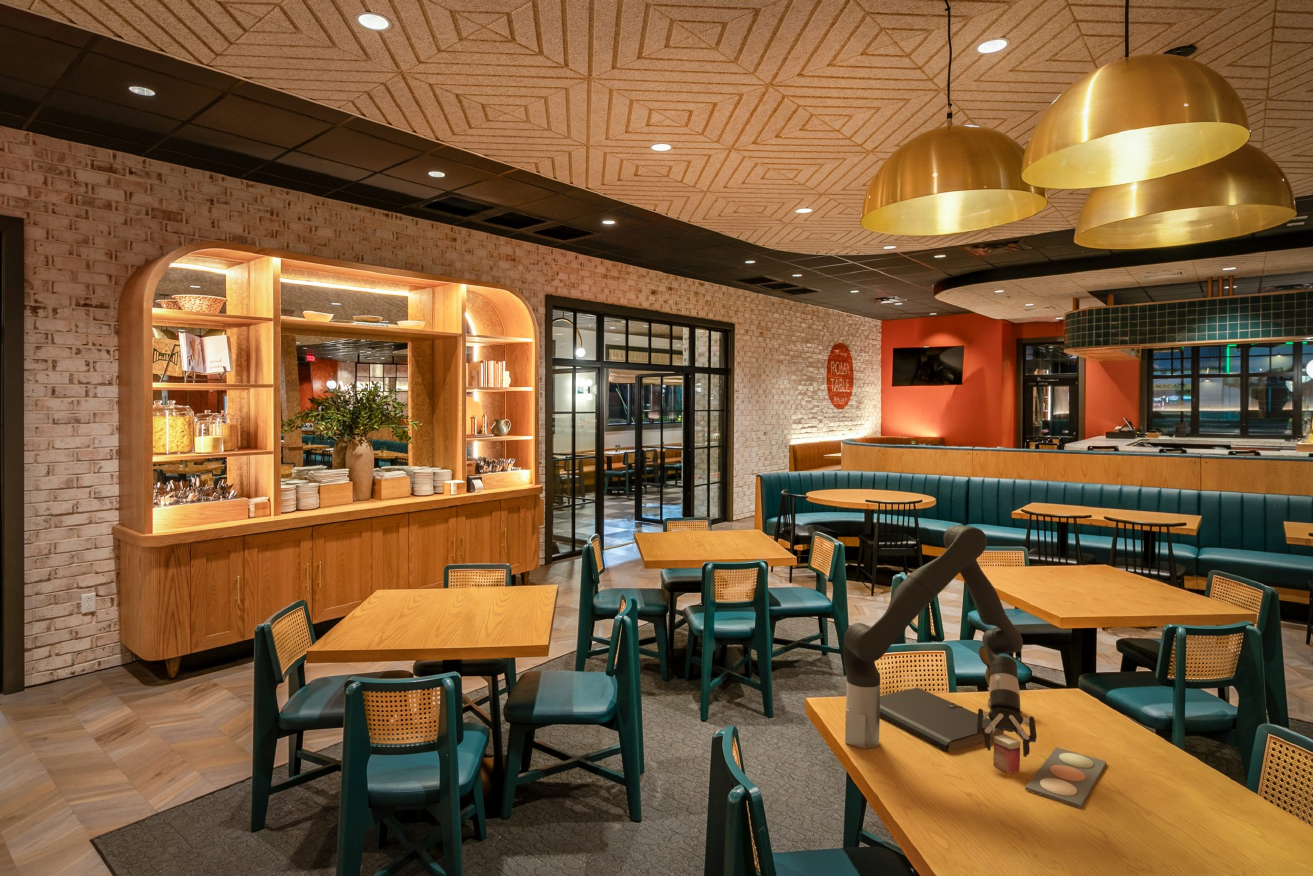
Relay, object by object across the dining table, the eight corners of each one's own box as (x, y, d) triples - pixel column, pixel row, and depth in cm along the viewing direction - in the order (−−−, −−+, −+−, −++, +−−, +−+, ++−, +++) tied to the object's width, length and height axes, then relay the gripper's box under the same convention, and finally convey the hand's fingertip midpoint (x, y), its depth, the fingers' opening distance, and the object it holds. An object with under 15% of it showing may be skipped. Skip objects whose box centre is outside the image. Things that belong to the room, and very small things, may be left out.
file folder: (1005, 724, 204) (946, 741, 194) (1005, 738, 204) (946, 755, 194) (918, 686, 234) (862, 699, 223) (918, 698, 234) (862, 711, 223)
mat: (1080, 808, 166) (1080, 803, 166) (1025, 790, 174) (1025, 785, 174) (1106, 764, 188) (1106, 760, 188) (1056, 750, 196) (1056, 746, 196)
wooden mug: (989, 696, 235) (990, 643, 235) (1025, 711, 223) (1026, 655, 222) (970, 700, 231) (971, 646, 231) (1006, 716, 219) (1006, 659, 219)
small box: (992, 765, 187) (993, 736, 186) (1004, 762, 188) (1004, 733, 188) (1008, 774, 182) (1009, 744, 182) (1020, 771, 184) (1021, 741, 184)
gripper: (977, 684, 194) (978, 742, 184) (1034, 692, 189) (1039, 752, 179) (975, 696, 199) (976, 753, 189) (1032, 704, 194) (1036, 763, 184)
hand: (1007, 752), depth 184 cm, fingers open, 8 cm apart
